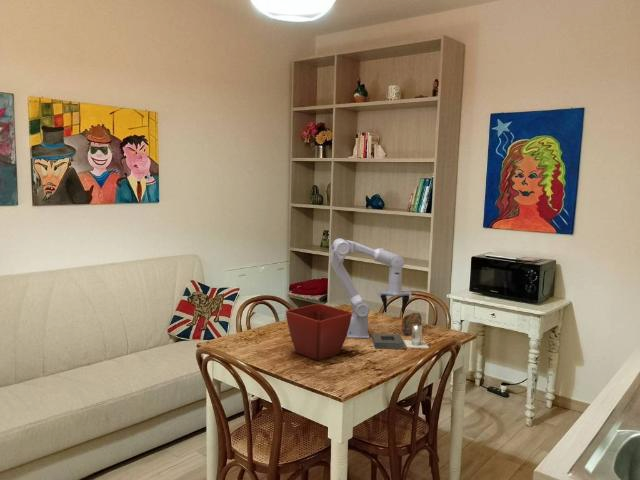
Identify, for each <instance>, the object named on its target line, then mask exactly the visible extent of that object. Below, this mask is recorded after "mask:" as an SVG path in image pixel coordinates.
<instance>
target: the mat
mask: <svg viewBox="0 0 640 480" xmlns="http://www.w3.org/2000/svg"><path fill="white" fill-rule="evenodd" d="M403 342H404V346H406V348H407V349H430V347H429V344H428V343H427V341H426V340H421V345H419V346H416V345H412V344H411V342H412V339H411V340H409V339H403Z"/></svg>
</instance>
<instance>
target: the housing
mask: <svg viewBox="0 0 640 480" xmlns="http://www.w3.org/2000/svg"><path fill="white" fill-rule="evenodd" d="M371 341H372V344H373V345H372V346H373V347H374V348H373V349H381V350H383V349H384V350H385V349H386V350H388V349H389V350H404V349H405V343H404V339H403V337H402V335H401V334H400V333H398V334H397V333H372V334H371Z"/></svg>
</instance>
